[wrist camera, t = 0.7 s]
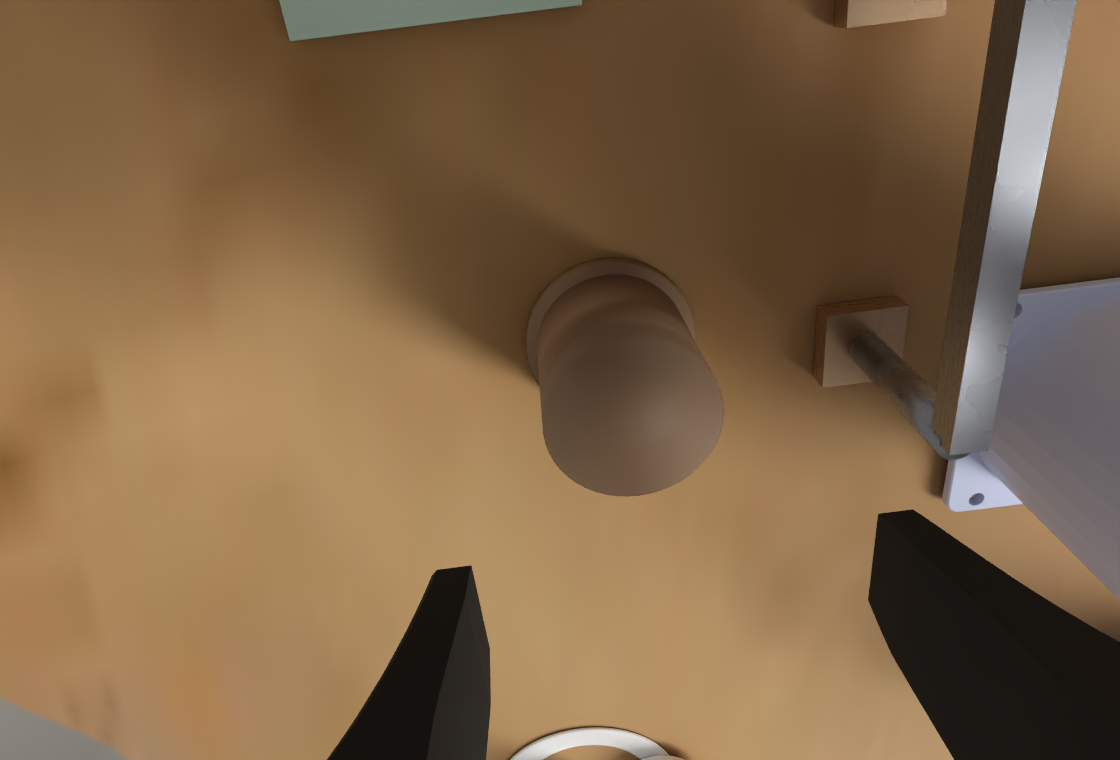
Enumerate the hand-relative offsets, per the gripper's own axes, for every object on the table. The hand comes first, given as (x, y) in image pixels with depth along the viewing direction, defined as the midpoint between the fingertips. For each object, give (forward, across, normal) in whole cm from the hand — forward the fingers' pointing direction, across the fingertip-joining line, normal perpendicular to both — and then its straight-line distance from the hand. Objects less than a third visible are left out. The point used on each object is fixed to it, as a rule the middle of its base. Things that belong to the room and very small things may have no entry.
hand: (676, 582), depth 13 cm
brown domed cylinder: (+10, 0, 0) cm, 10 cm away
